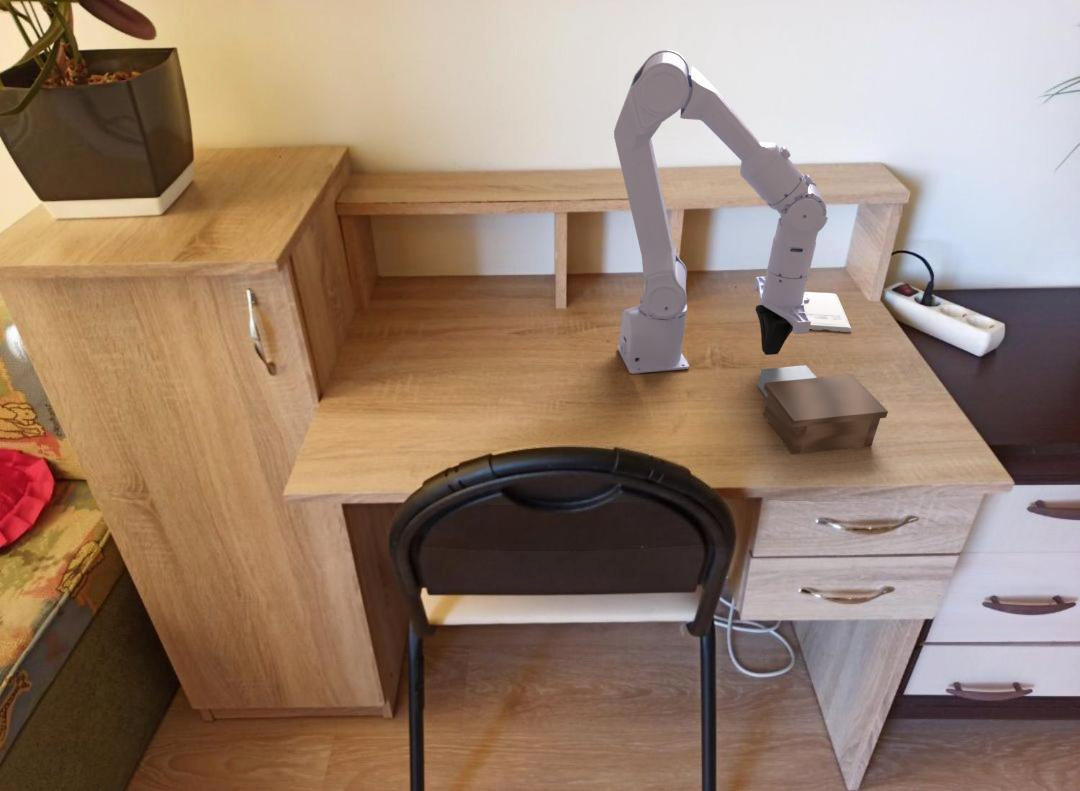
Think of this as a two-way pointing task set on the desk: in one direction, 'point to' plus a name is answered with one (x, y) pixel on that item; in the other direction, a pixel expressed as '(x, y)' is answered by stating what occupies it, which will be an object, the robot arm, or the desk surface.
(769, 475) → the desk surface
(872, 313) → the desk surface
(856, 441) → the brown lidded box
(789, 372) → the brushed metal plate
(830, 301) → the external hard drive
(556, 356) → the desk surface
